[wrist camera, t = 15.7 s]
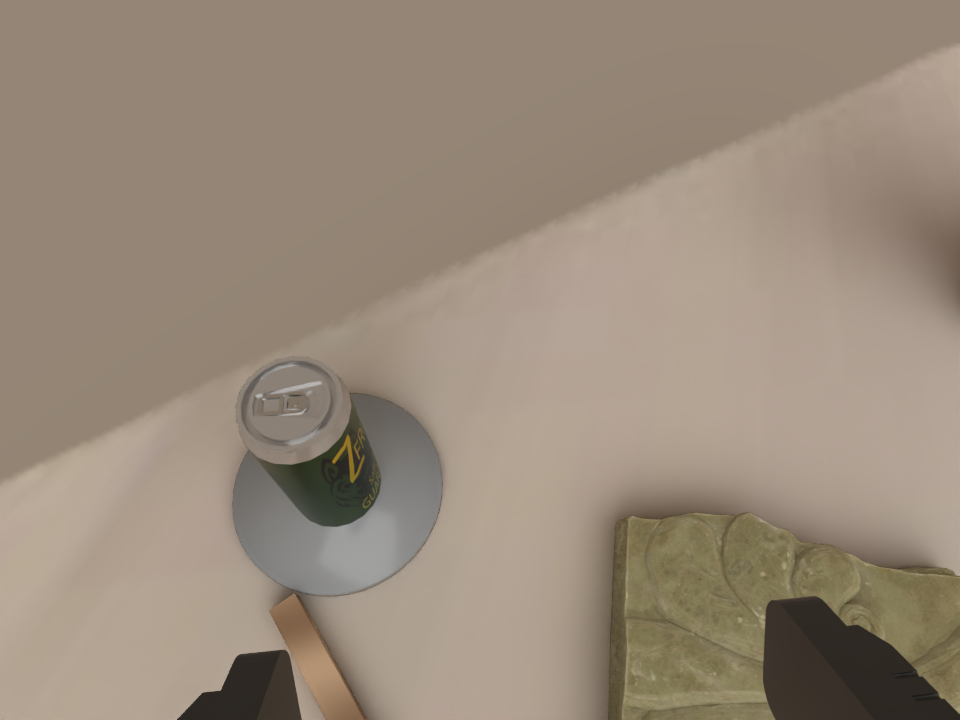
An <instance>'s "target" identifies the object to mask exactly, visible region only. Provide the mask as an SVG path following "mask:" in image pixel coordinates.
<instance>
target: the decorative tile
mask: <svg viewBox="0 0 960 720" xmlns="http://www.w3.org/2000/svg"><path fill="white" fill-rule="evenodd" d="M808 596H817V597H819V598H821V599H822V600H823V601H824V602H825V603H826V604H827V605H828V606H829V607H830V608H831V609H832V610H833V611H834V612H835V614H836V615H837V616H838V617H839V618H840V619H841V620H842V621H843V622H844V623H845V624H846V625H847V626H850V625H859V626H861V627H863V628H864V629H866V630H868V631H869V632H871V633H873V634H874V635H876V636H877V637H879V638H881V639H882V640H884V641H886V642H887V643H889V644H891V645H892V646H893V647H894V648H895V649H896V650H897V651H898V652H899V653H900V654H901V655H902V656H903V657H904V658H905V659H906V660H907V661H908V662H909V663H910V664H911V665H912V666H913V667H914V668H915V669H916V670H917V673H918V675H919V677H920V676H923V677H924V678H925V679H926V680H927V681H928V683H929V684H930V685H931V686H932V687H933V688H934V689H935V690H936V691H937V692H938V693H939V697H940V698H941V699H945V700H946V701H947V702H948V703H949V704H950V705H951V706H952V707H953V708H954V709H955V710H956V711H957V712H958V713H959V714H960V576H956V574H955V573H954V571H952V570H949V569H947V568H921V567H911V568H907V569H899V570H896V569H890V568H887V567H879V566H876V565H873V564H870V563H864V562H863V561H862V560H860V559H859V558H857V557H855V556H853V555H852V554H847V553H845V552H843V551H841V550H840V549H838V548H836V547H834V546H831V545H827V544H814V543H801V542H800V541H799V540H798V539H797V538H796V537H795V536H794V535H793V534H792V533H790V532H789V531H788V530H787V529H780V528H777V527H774V526H771V524H770V523H768V522H766V521H764V520H762V519H761V518H759V517H757V516H755V515H754V514H751V513H749V512H748V513H743V514H739V515H712V514H701V513H688V514H684V515H676V516H671V517H668V518H663V519H645V518H638V517H635V516H629V517H627V518H625V519H623V520H620V521H619V522H617V524H616V527H615V547H614V566H613V589H612V613H611V636H610V671H609V712H608V720H775V718H774V716H773V714H772V712H771V709H770V707H769V704H768V701H767V698H766V695H765V690H764V684H763V660H764V638H765V616H766V607H767V605H768V603H769V602H770V601H771V600H779V599H788V598H798V597H808Z"/></svg>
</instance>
